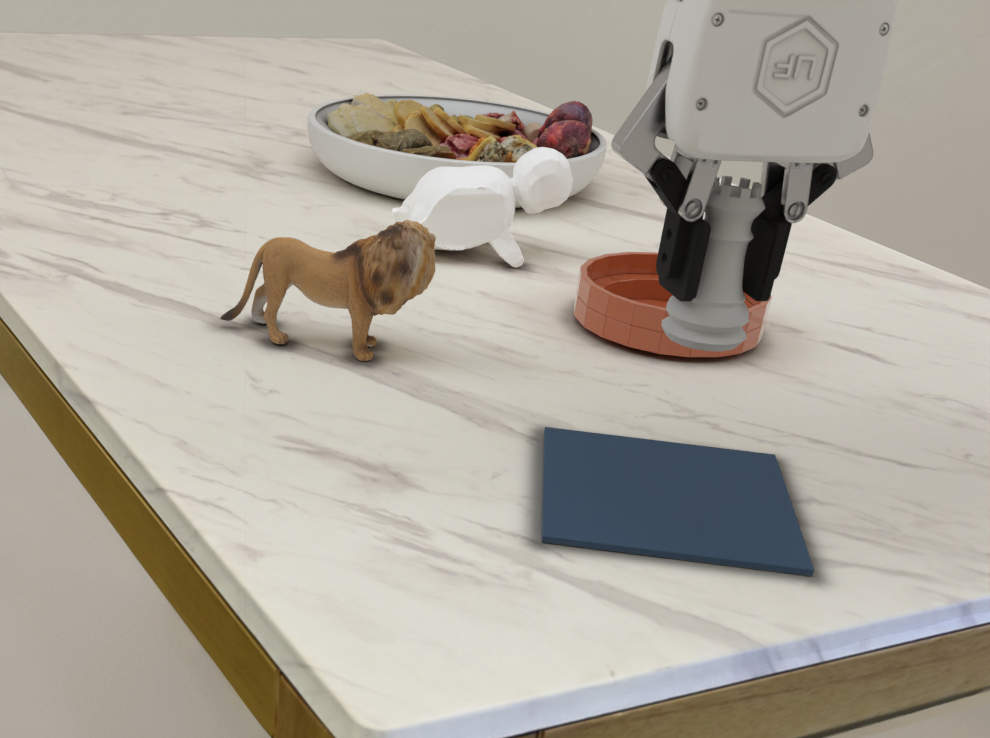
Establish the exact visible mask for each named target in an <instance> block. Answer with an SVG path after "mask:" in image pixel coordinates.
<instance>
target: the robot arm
mask: <svg viewBox="0 0 990 738" xmlns="http://www.w3.org/2000/svg"><path fill="white" fill-rule="evenodd" d="M896 5H897V0H666V1H665V5H664V9H663V12H662V15H661V19H660V20H661V21H660V24H659V28H658V31H657V36H656V39H655V45H654V49H653V53H652V57H651V61H650V66H649V69H648V70H649V71H648V76H647V80H646V81H647V82H646V85H645V86H646V88H645V92H644V94H643V95H642V96H641V98H640V99H639V100H638V102H637V104H636V105H635V107H634V108H633V109H632V110H631V112H630V114H629V115H628V116H627V117H626V119H625V120H624V122H623V123H622V125H620V128H619V129H618V130H617V132H616V133H615V135H614V136H613V138H612V140H611V145H610V146H611V150H612V151H613V153H615V154H616V155H617V156H619V157H620V158H621V159H623V160H624V161H625V162H626V163H628V164H629V165H631V167H633V168H634V169H636V170H637V171H638V172H640V173H641V174H642V175H643V176H644V177H645V179H646V180H647V181H648V184H650V186H651V188H652V189H653V190H654V192H655V193H656V195H657V196H658V200H659V202H660V203H661V204H662V205H663V206H664V207H665V208H666V211H665V216H664V221H663V226H662V231H661V236H660V242H659V246H658V252H657V253H658V256H657V261H656V271H657V274H658V276H659V284H660V285H661V286H662V287H663V288H665V289H666V290H667V291H668V292H669V293H671V294H672V295H673V296H674V297H676V298H677V299H678V300H679V301H681V302H690V301H692V300H693V299H695V298H696V296H697V291H698V287H699V282H700V278H701V273H702V269H703V264H704V260H705V255H706V250H707V246H708V241H709V237H710V232H711V226H710V223H708V222H707V221H705V220H704V216H705V212H704V211H705V208H706V205H707V202H708V199H709V196H710V193H711V190H712V187H713V184H714V182H715V179H716V177H718V176H717V175H718V173H719V169H720V167H721V164H722V161H725V162H751V163H753V162H754V163H756V162H758V163H762V166H761V176H760V184H762V191H761V198H762V200H763V202H764V204H765V209H764V210H763V211H762V212H761V213H760V214H759V215H758V216H757V217H756V218H755V219H754V220H753V222H752V225H751V232H752V234H753V237H754V238H753V239H752V240H751V241H750V242H749V243H748V246H747V250H746V254H745V260H744V270H743V280H742V289H743V292H744V293H746V294H747V295H748V296H750V297H751V298H753V299H754V300H755V301H768V300H769V298H770V296H772V292H773V288H774V283H775V280H777V279H778V277H779V276H780V272H781V269H782V265H783V262H784V258H785V253H786V249H787V245H788V241H789V238H790V234H791V230H792V226H793V224H797V223H800V222H801V221H802V220H803V219H804V218H805V217H806V215H807V212H808V208H809V206H810V205H812V204H813V203H814V202H815V201H816V200H817V199H819V198H820V197H821V196H822V195H823V194H824V193H825V192H826V191H828V190H830V188H831V187H832V186H833V185H834V184H835V182H836V181H837V180H840V181H841V180H843V179H844V178H845V177H847V176H849V175H851V174H852V173H855V172H856V171H858V170H860V169H862V168H864V167H865V166H868V164H870V163H871V161H872V160H873V158H874V147H873V143H872V138H871V134H870V131H871V128H872V124H873V121H874V118H875V117H874V116H875V112H876V109H877V104H878V101H879V96H880V93H881V87H882V83H883V79H884V75H885V69H886V64H887V58H888V54H889V48H890V42H891V38H892V37H891V36H892V32H893V31H892V30H893V25H894V19H895V12H896ZM657 137H658V138H662V139H664V140H665V139H666V140H670V141H673V142H674V146H673V149H672V151H671V156H670V158H668V157H667V156H666V155H665V154H664V153H662V152H661V151H660V150H659V149H658V148H657V147H656V138H657Z"/></svg>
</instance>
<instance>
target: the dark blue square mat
mask: <svg viewBox="0 0 990 738" xmlns="http://www.w3.org/2000/svg"><path fill="white" fill-rule="evenodd" d="M542 469H543V471H542V474H543V475H542V511H541V512H542V513H541V514H542V515H541V516H542V517H541V543H545V544H551V545H552V544H553V545H561V546H568V547H576V548H583V549H584V548H585V549H592V550H602V551H609V552H616V553H617V552H618V553H625V554H632V555H633V554H634V555H641V556H649V557H657V558H662V559H663V558H664V559H672V560H680V561H689V562H696V563H697V562H698V563H704V564H712V565H720V566H727V567H736V568H745V569H751V570H759V571H766V572H767V571H769V572H775V573H784V574H791V575H798V576H799V575H800V576H806V577H813V576H814V572H815V569H814V568H815V567H814V565H813V562H812V559H811V556H810V554H809V550H808V547H807V543H806V541H805V538H804V535H803V533H802V530H801V527H800V524H799V520H798V518H797V515H796V512H795V509H794V505H793V504H792V501H791V498H790V495H789V491H788V489H787V486H786V483H785V480H784V476H783V474H782V471H781V468H780V465H779V463H778V459H777V456H776V454H774V453H766V452H757V451H751V450H750V451H748V450H740V449H731V448H724V447H716V446H707V445H699V444H690V443H683V442H673V441H666V440H658V439H649V438H641V437H632V436H626V435H625V436H624V435H616V434H607V433H600V432H592V431H591V432H590V431H583V430H575V429H565V428H557V427H549V426H545V427H544V431H543V468H542Z"/></svg>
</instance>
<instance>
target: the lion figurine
mask: <svg viewBox="0 0 990 738" xmlns="http://www.w3.org/2000/svg"><path fill="white" fill-rule="evenodd" d="M435 240H436V236H435V234H431V233H429V230H428V228H426V227H423V225H422V224H420V223H419V222H415V221H410V220H405V221H403V222H396V221H395V223H393V224H390V225H388V226H387V227H386V228H385V229H382V230H381V231H379V232H378V233H377V234H373V235H369V236H368V237H366V238H360V239H357V240H355V241H353V242H352V243H351V244H349V245H348V246H347V247H345V248H344V249H341V250H338V251H335V252H334V251H327V250H323V249H320V248H317V247H313V246H311V245H310V244H308V243H306V242H304V241H302V240H300V239H298V238H295V237H291V236H290V237H288V236H287V237H286V236H277V237H274V238H271V239H269V240H267V241H266V242H264V243H263V244H262V246H260V248H259V249H258V251H257V252H256V254H255V256H254V258H253V260H252V263H251V266H250V269H249V273H248V276H247V279H246V283H245V286H244V289H243V292H242V295H241V298H240V300H239V301H238V302H237V304H236V305H235V306H234V307H233V308H230V309H229V310H227V311H226V312H225V313H223V314H222V315H221V316H220V317H219V319H220V320H222V321H226V322H229V321H233V320H235V319H236V318H237V317H238V316H240V314H241V313H242V312H243V310H244V308H245V306H246V305H247V303H248V301H249V299H250V297H251V294H252V292H253V290H254V287H255V284H256V282H257V278H258V276H259V274H260V271H261V269H262V278H263V284H261V285H260V286H259V287H257V288H256V290H255V291H254V295H253V301H252V304H251V310H250V311H251V312H250V313H251V318H252V320H253V321H254V322H256V323H259V324H263V325H264V324H266V327H267V330H268V337H269V339H270V341H271V342H272V343H274V344H276V345H285V344H286V343H288V342H289V339H290V338H289V334H288V333H286V332H283V331H281V330H280V327H279V324H278V313H279V310H280V308H281V305H282V304H283V301H284V298H285V296H286V294H287V291H288V290H289V289H290V288H291V287H293V286H294V287H295V288H297V289H298V290H299V291H300V292H301V293H302V294H303V296H305V298H307V299H308V300H310V301H311V302H313V303H314V304H317V305H319V306H321V307H325V308H330V309H340V310H348V313H349V316H350V320H351V332H352V333H351V334H352V341H351V344H352V352H353V355H354V357H355V358H356V359H357V360H358V361H361V362H369V361H371V360H373V358H374V357H373V356H374V352H373V351H372V350H370V349H369V348H373V347H375V346H377V344H378V340H377V338H376V337H375V336H374V335H369V331H370V327H371V324H372V322H373V318H374V317H376V316H378V315H379V316H383V315H389V316H394V315H396V314H397V312H398V311H400V310H401V309H402V307H403V306H404V305H406V303H407V302H408V301H411V300H413V299H414V298H416V297H417V296H420V295H422V294H423V293H424V292H425V291H426V290H428V288H429V285H430V283H432V280H433V278H434V275H435V273H436V255H435V253H436V250H435V249H434V246H435ZM265 305H266V306H265ZM264 307H266V308H265V309H264Z"/></svg>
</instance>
